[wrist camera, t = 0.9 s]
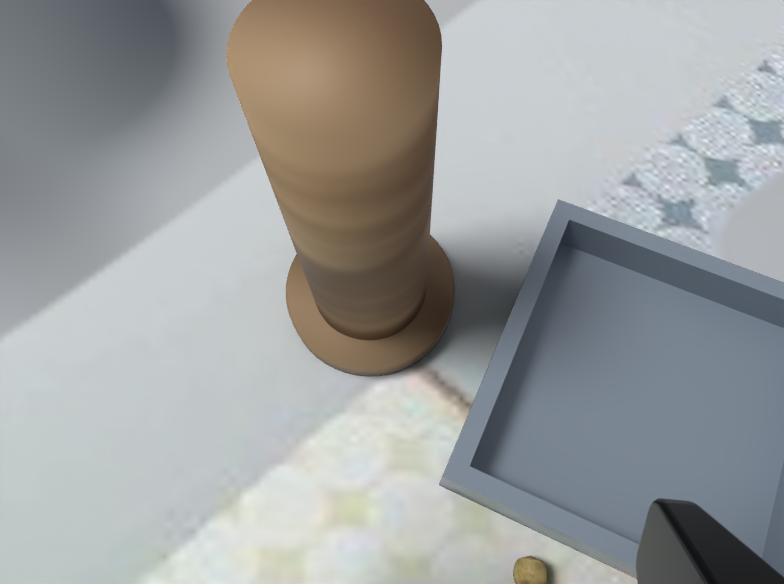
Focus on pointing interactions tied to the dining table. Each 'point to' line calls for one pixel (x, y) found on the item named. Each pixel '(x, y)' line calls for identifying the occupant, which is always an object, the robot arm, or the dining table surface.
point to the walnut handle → (351, 170)
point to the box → (630, 394)
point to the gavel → (530, 571)
